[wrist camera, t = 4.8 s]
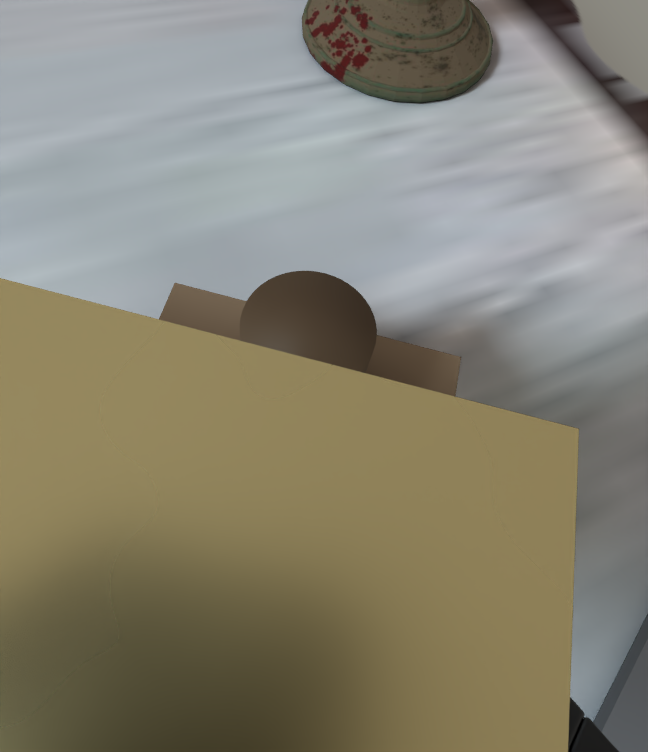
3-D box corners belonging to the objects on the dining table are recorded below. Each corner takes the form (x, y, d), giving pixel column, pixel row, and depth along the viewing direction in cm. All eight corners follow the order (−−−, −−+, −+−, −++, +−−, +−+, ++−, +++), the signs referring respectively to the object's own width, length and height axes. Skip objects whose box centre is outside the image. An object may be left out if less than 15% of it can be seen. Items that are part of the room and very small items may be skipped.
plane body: (304, 1102, 12) (349, 1504, 6) (-66, 999, 12) (-358, 1303, 6) (423, 413, 19) (494, 306, 14) (189, 352, 19) (161, 220, 14)
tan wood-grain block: (326, 748, 12) (559, 1012, 3) (83, 683, 12) (-468, 730, 3) (356, 592, 13) (579, 429, 4) (139, 535, 13) (-109, 250, 4)
